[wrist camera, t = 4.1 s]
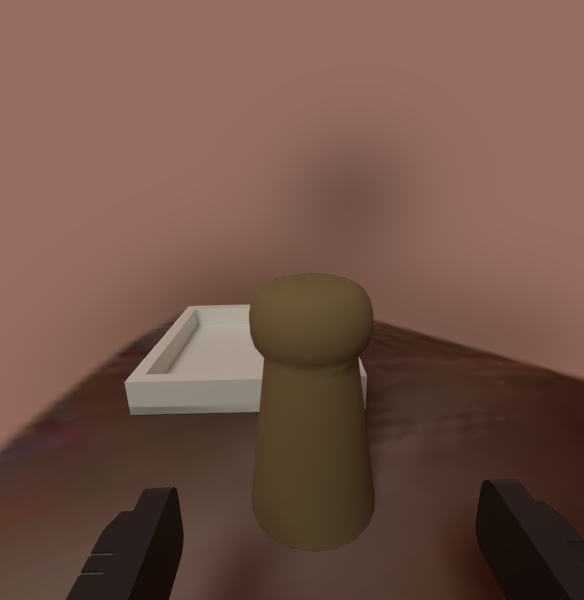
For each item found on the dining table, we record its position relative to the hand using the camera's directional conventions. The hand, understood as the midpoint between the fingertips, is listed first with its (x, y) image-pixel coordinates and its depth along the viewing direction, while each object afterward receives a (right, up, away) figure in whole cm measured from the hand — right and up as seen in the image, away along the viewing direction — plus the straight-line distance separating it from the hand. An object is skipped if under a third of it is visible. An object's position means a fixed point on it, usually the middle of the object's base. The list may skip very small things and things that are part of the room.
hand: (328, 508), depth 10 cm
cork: (0, -4, +9) cm, 10 cm away
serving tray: (-4, 0, +23) cm, 23 cm away
